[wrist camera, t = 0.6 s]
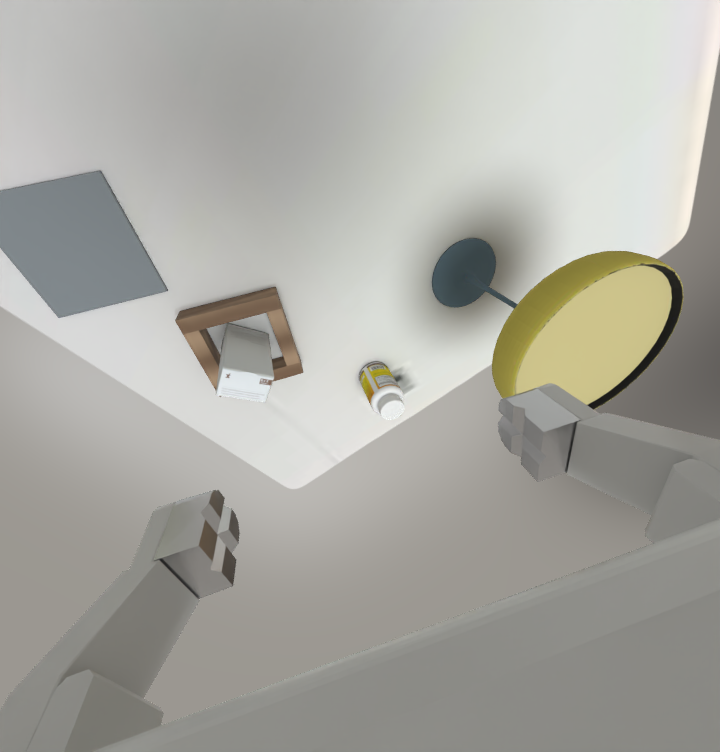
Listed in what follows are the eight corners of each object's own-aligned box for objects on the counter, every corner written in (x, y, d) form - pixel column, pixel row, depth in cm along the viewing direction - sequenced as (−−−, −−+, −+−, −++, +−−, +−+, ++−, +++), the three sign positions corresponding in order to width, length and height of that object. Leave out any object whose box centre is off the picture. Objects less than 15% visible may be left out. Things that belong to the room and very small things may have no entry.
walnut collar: (179, 311, 42) (175, 320, 40) (275, 286, 44) (276, 294, 41) (221, 385, 50) (219, 396, 48) (301, 362, 52) (303, 372, 49)
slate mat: (-38, 198, 31) (-41, 199, 31) (100, 170, 33) (99, 170, 32) (60, 316, 39) (58, 318, 39) (167, 290, 40) (167, 291, 40)
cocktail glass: (393, 316, 51) (478, 420, 31) (440, 192, 42) (600, 231, 23) (480, 334, 58) (594, 429, 38) (536, 231, 49) (723, 286, 29)
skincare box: (221, 347, 47) (212, 398, 37) (227, 320, 45) (219, 367, 35) (263, 356, 49) (265, 406, 40) (271, 331, 47) (274, 377, 38)
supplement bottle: (369, 391, 59) (387, 429, 51) (352, 374, 56) (368, 412, 48) (393, 373, 58) (415, 409, 50) (377, 354, 55) (398, 390, 47)
